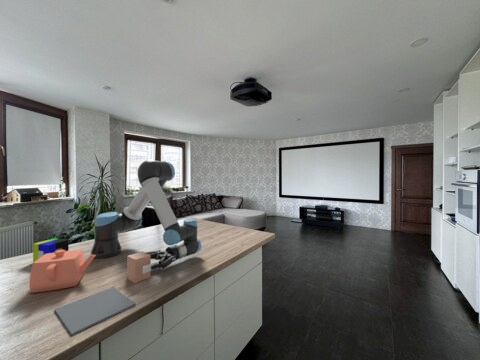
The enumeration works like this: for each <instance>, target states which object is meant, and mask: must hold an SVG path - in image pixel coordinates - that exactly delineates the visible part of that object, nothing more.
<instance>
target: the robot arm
mask: <svg viewBox="0 0 480 360" xmlns="http://www.w3.org/2000/svg"><path fill="white" fill-rule="evenodd" d="M175 169H176V168H175V167H174V165H173V164H172V163H171V162H168V161H160V160H155V159H147V160H145V161H143V162H142V163H140V165H139V167H138V168H137V180H138V182H139V184H140V186H141V188H139V190H138V192H137V193H136V195H135V196H134V198H133V199H132V201H131V202H130V204H129V206H125V207H124V208H123V209H122V211H121V212H117V211H109V212H104V213H100V214H98V215H97V216H96V217H95V219H94V242H93V245H92V248H91V250H90V255H96V256H95V257H94V258H93V259H107V258H111V257H115V256H117V255H118V256H119V255H120V254H121V253H122V246H121V243H120V240H119V233H123V232H127V231H133V230H136V229H137V228H139V227H140V225H141V224H142V223H143V220H142V219H143V215H142V213H143V211H144V210H145V208H146V207H147V206H148V204H149V203H151V205H152V207H153V209H154V212H155V214H156V216H157V218H158V219H159V222H160V224H161V227H162V228H163V230H164V232H163V235H162V240H163V243H164V244H166V245H167V246H168V247H166V249H165V250H163V251H161V250H160V249H158V250H152V251H151V250H150V251H146V252H145V253H147V254H149V255H151V260H156V261H155V262H153V263H151V264H149V265H146V266H143V274H144V273H146V272H149V271H150V272H151V271H155V270H157V269H162V270H164V269H166V268H167V267H169V266H170V265H171V264H172V263H174V262H176V261H178V260H182V259H183V258H185V257H188V256H192V255H196V254H197V253H199V252H200V251H201V249H202V243H201V240H200V239H198V228H199V226H198V221H197V219H193V218H187V219H185V220H183V223H182V225H180V224H179V222H178V220H177V218H176V215H175V213H174V210H173V209H172V207H171V205H170V203H169V200H168V198H167V196H166V194H165V192H164V191H163V188H162V187H164V186H165V185H166V183H167V182H170V181H172V180H173V179H174V178H175V174H176V171H175ZM182 241H183V242H182ZM157 256H158V257H157ZM157 260H158V261H157Z"/></svg>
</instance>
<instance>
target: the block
mask: <svg viewBox="0 0 480 360" xmlns="http://www.w3.org/2000/svg"><path fill="white" fill-rule="evenodd" d="M126 257H127V258H126V260H127V261H126V266H127V267H126V271H127V272H126V279H128V280H129V281H131V282H132V283H134V284H136V283H139V282H141V281H144V280H146V279H149V278H151V271H149V272H146V273H144V274H143V266H146V265H149V264H152V263H151V261H152V259H151V255H149V254H147V253H145V252H144V251H140V252H136V253H132V254H129V255H127V256H126Z"/></svg>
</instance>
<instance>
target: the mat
mask: <svg viewBox="0 0 480 360" xmlns="http://www.w3.org/2000/svg"><path fill="white" fill-rule="evenodd" d="M134 306H136V302H134V301H133V300H132V299H130V298H129V297H127V295H125V294H124V293H122V292H121V291H119V290H118V289H117V288H115V287H114V286H111V287H108V288H107V289H103V290H100V291H98V292H96V293H93V294H90V295H87V296H86V297H82V298H80V299H77V300H75V301H72V302H70V303H66V304H64V305H60V306H59V307H56V308H54V312H55V313H56V315H57V316H58V318H59V319H60V321H61V322H62V324H63V325H64V326H65V328H66V330H67V331H68V332H70V333H69V334H70V335H72V336H74V335H76V334H78V333H80V332H82V331H84V330H86V328H87V329H89V328H91V327H93V326H95V325H97V324H99V323H101V322H103V321H105V320H107V319H109V317H110V318H111V316H112V317H114V316H115V314H116V315H118V314H120V313H123V312H124V311H126V310H129V309H130V308H133V307H134ZM119 312H120V313H119ZM117 313H118V314H117ZM113 315H114V316H113ZM102 320H103V321H102ZM100 321H101V322H100ZM98 322H99V323H98ZM96 323H97V324H96ZM94 324H95V325H94ZM92 325H93V326H92ZM90 326H91V327H90ZM88 327H89V328H88ZM79 331H80V332H79ZM77 332H78V333H77ZM75 333H76V334H75ZM73 334H74V335H73Z"/></svg>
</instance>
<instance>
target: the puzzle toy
mask: <svg viewBox="0 0 480 360" xmlns="http://www.w3.org/2000/svg"><path fill="white" fill-rule="evenodd" d="M32 246H33V247H32V264H33V263H34V262H35V261H36V260H38V259H39V258H40V257H42V256H43V255H45V254H47V253H54V252H55V251H58V250H65V251H69V250H70V249H69V239H64V238H57V237H56V238H50V239H47V240H42V241H39V242H35V243H33V245H32Z"/></svg>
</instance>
